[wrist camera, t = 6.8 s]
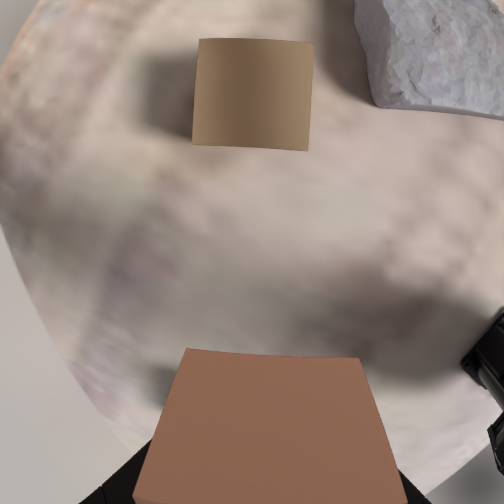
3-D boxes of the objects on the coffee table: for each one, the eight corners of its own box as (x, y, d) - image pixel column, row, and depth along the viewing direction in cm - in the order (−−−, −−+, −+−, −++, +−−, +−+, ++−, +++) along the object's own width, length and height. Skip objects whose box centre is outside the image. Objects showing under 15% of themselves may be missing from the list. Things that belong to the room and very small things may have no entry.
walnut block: (301, 68, 16) (313, 43, 12) (297, 150, 18) (307, 151, 13) (216, 64, 17) (199, 38, 12) (211, 145, 18) (191, 145, 13)
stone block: (337, -5, 16) (368, 123, 17) (351, -48, 11) (399, 97, 12) (472, 18, 16) (507, 131, 17) (501, -8, 11) (549, 119, 12)
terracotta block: (358, 357, 9) (407, 502, 4) (326, 456, 10) (339, 568, 6) (186, 347, 9) (132, 495, 4) (194, 450, 10) (170, 561, 6)
